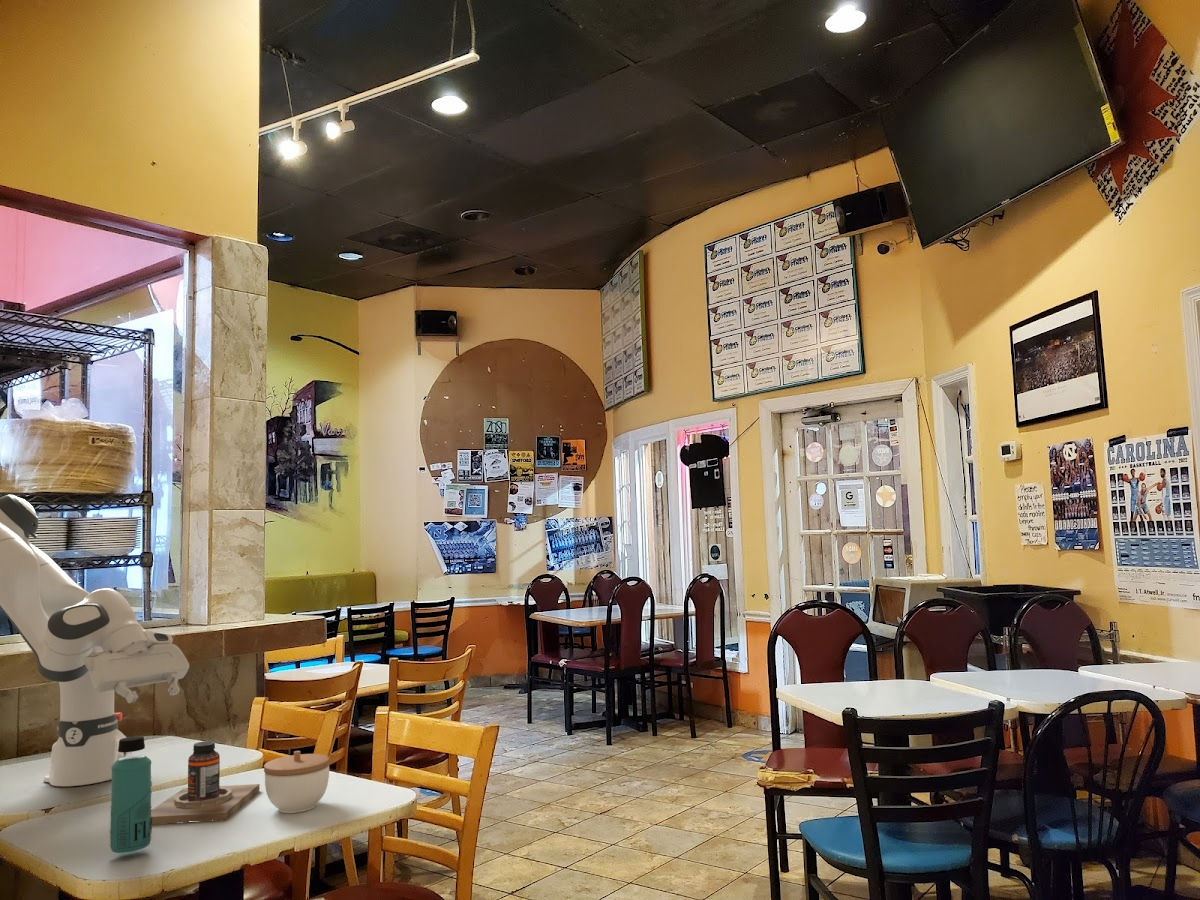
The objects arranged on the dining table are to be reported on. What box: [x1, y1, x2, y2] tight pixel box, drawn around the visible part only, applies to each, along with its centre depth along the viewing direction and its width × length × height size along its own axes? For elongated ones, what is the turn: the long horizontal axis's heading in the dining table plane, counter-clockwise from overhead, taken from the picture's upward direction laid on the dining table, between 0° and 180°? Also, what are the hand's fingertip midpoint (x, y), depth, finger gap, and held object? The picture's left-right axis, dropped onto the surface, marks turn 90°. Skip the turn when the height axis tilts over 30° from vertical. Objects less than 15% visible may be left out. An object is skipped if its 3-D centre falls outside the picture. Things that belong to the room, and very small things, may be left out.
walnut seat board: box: [151, 783, 261, 825], centre depth 179 cm, size 20×16×2 cm
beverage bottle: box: [109, 735, 153, 854], centre depth 153 cm, size 6×7×20 cm
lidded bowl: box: [263, 750, 331, 814], centre depth 176 cm, size 13×13×11 cm
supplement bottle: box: [187, 740, 221, 802], centre depth 179 cm, size 6×6×11 cm
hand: (155, 696), depth 186 cm, fingers open, 8 cm apart
